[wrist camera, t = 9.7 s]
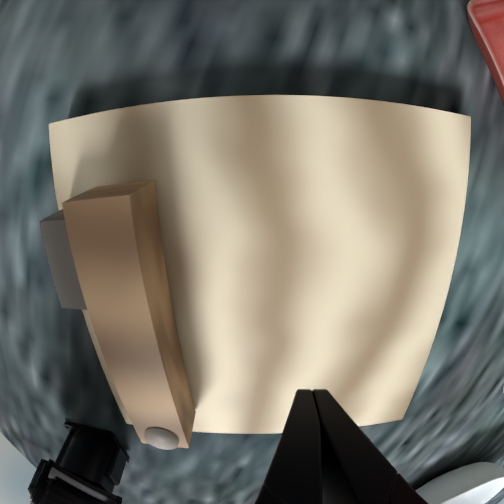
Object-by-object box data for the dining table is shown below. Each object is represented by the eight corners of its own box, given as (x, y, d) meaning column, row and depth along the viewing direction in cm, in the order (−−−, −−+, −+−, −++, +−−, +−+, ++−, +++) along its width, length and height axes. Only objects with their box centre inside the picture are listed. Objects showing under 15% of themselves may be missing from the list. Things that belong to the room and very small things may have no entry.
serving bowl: (460, 440, 29) (478, 479, 22) (510, 447, 32) (523, 474, 26) (356, 510, 36) (361, 544, 29) (426, 508, 39) (434, 533, 33)
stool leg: (196, 412, 22) (189, 451, 18) (153, 409, 22) (142, 446, 19) (155, 179, 16) (127, 196, 12) (96, 186, 16) (59, 203, 12)
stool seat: (132, 407, 25) (117, 449, 21) (66, 122, 16) (16, 127, 12) (395, 403, 25) (411, 444, 20) (453, 115, 16) (502, 119, 11)
